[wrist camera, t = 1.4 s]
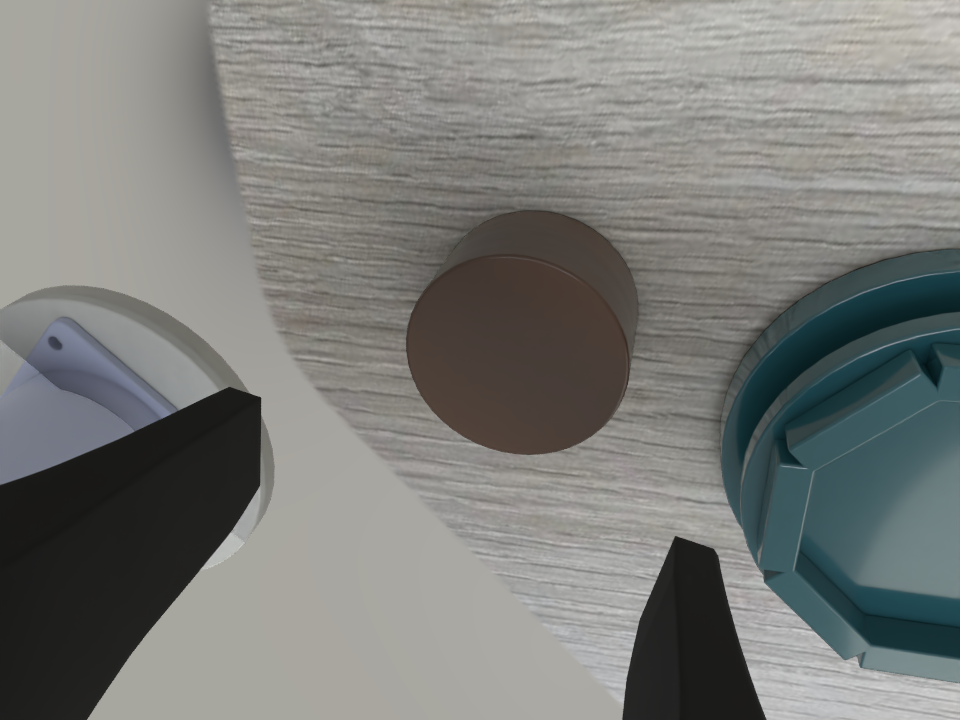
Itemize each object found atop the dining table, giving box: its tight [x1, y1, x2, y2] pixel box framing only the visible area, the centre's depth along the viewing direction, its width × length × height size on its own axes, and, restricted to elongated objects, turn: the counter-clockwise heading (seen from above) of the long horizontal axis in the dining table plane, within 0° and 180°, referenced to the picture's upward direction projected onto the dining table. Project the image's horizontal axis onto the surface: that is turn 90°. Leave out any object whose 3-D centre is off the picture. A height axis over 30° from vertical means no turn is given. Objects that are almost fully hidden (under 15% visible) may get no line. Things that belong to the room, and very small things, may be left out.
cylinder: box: [406, 211, 638, 455], centre depth 20 cm, size 5×5×3 cm
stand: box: [720, 249, 960, 683], centre depth 18 cm, size 10×10×4 cm
